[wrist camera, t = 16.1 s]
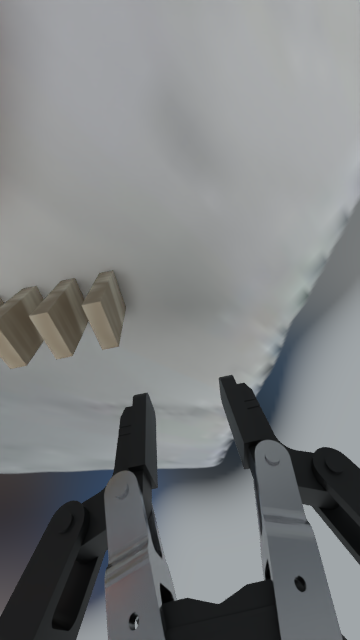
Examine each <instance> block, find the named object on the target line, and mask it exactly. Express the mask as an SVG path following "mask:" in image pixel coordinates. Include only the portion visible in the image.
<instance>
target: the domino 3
mask: <svg viewBox="0 0 360 640" xmlns="http://www.w3.org/2000/svg"><path fill="white" fill-rule="evenodd" d="M82 307H83V310H84V312H85V314H86V316H87V318H88V320H89V322H90V325H91V327H92V329H93V331H94V333H95V335H96V337H97V339H98V342H99V344H100V346H101V348H102V350H104V349H109V348H114V347H118V346H119V342H120V336H121V331H122V326H123V320H124V315H125V310H126V306H125V304H124V301H123V298H122V295H121V292H120V289H119V286H118V283H117V280H116V278H115V275H114V272H113V271H108V272H103V273H99V275H98V277H97V278H96V280H95V282H94V284H93V286H92V287H91V289H90V291H89V293H88V295H87V296H86V298H85V300H84V302H83V303H82Z"/></svg>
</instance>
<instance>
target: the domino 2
mask: <svg viewBox="0 0 360 640" xmlns="http://www.w3.org/2000/svg"><path fill="white" fill-rule="evenodd" d="M83 302H84V298H83V295H82V293H81V291H80V289H79V287H78V284H77V282H76V280H75V278H74V279H69V280H64V281H61V282H60V283H59V284H58V285H57V286H56V287H55V288H54V289H53V290H52V291H51V292H50V294H49V295H48V296H47V297H46V298H45V299H44V300H43V301H42V302H41V303H40V304H39V305H38V307H37V308H36V309H35V310H34V311H33V312H32V313H31V314H30V315H29V317H30V319H31V321H32V322H33V324H34V325H35V327H36V328H37V330H38V332H39V333H40V335H41V336H42V338H43V339H44V341H45V342H46V344H47V346H48V347H49V349H50V350H51V352H52V353H53V355H54V357H55V358H56V359H61V358H66V357H71V356H73V354H74V352H75V350H76V348H77V345H78V343H79V341H80V339H81V336H82V334H83V332H84V330H85V328H86V325H87V323H88V321H89V320H88V318H87V316H86V314H85V312H84V310H83V307H82V303H83Z"/></svg>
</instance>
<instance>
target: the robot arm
mask: <svg viewBox="0 0 360 640" xmlns="http://www.w3.org/2000/svg"><path fill="white" fill-rule="evenodd" d="M219 385H220V395H221V400H222V404H223V407H224V410H225V413H226V416H227V419H228V422H229V425H230V428H231V431H232V434H233V437H234V440H235V443H236V446H237V449H238V452H239V455H240V458H241V460H242V464H243V467H244V469H249V468H250V470H251V473H252V476H253V479H254V490H255V498H256V507H257V516H258V524H259V532H260V546H261V558H262V567H263V575H264V581H261V582H256V583H252V584H247V585H246V586H244V587H243V588H241V589H240V590H239V591H238V592H236V593H235V594H233V595H232V596H230V597H229V598H228V599H226V600H225V601H224V602H222V603H220V604H214V603H209V602H204V601H200V600H195V599H190V598H185V599H180V600H177V598H176V594H175V590H174V586H173V582H172V578H171V575H170V571H169V568H168V565H167V563H166V560H165V556H164V552H163V548H162V544H161V540H160V536H159V531H158V527H157V522H156V518H155V514H154V510H153V506H152V493H151V492H152V491H151V490H152V489H155V488H157V487H158V484H157V446H156V417H155V411H154V408H153V405H152V403H151V400H150V397H149V395H148V393H143V394H138V395H134V396H133V406H131V407H126V408H125V410H124V412H123V414H122V416H121V418H120V429H119V435H118V436H119V438H118V443H117V451H116V459H115V467H114V473H113V476H112V478H111V479H110V481H109V482H108V484H107V486H106V487H105V488H104V489H103V490H102V491H101V492H99V493H98V494H96V495H95V496H93V497H91V498H90V499H88V500H86V501H85V502H83V503H82V504H81V503H80V502H78V501H70V502H67V503H65V504H64V505H63V506H61V507H60V508H59V509H58V510H57V511H56V513H55V514H54V515H53V517H52V519H51V521H50V523H49V524H48V527H47V528H46V530H45V532H44V534H43V536H42V538H41V540H40V542H39V544H38V546H37V547H36V549H35V551H34V553H33V555H32V557H31V559H30V561H29V563H28V565H27V567H26V569H25V570H24V572H23V574H22V576H21V578H20V580H19V582H18V584H17V586H16V588H15V590H14V592H13V593H12V595H11V597H10V599H9V601H8V603H7V605H6V607H5V609H4V611H3V613H2V615H1V616H0V640H76V638H77V635H78V632H79V629H80V626H81V623H82V620H83V617H84V614H85V611H86V608H87V605H88V602H89V599H90V596H91V593H92V590H93V587H94V584H95V581H96V578H97V575H98V573H99V570H100V566H101V563H102V561H103V557H104V554H105V552H106V550H108V553H109V563H108V567H107V569H106V573H105V595H106V596H105V597H106V612H107V629H108V640H347V639H346V638H345V637H344V636H343V635H342V634H341V631H340V628H339V624H338V621H337V616H336V613H335V609H334V605H333V601H332V598H331V594H330V590H329V587H328V583H327V579H326V575H325V572H324V568H323V564H322V561H321V557H320V553H319V550H318V546H317V542H316V539H315V535H314V532H313V530H312V527H311V525H310V523H309V522H308V521H307V519H306V516H305V513H304V509H303V505H302V504H306V505H310V506H312V507H313V508H314V509H315V511H316V512H317V513H318V514H319V516H320V517H321V518H322V519H323V520H324V522H325V523H326V524H327V525H328V526H329V528H330V529H331V530H332V531H333V533H334V534H335V535H336V536H337V538H338V539H339V540H340V541H341V542H342V544H343V545H344V546H345V547H346V549H347V550H348V551H349V552H350V553H351V555H352V556H353V557H354V558H355V560H356V561H357V562H358V563H359V564H360V468H358V467H357V466H356V465H355V464H354V463H353V462H352V461H351V460H350V459H348V458H347V457H346V456H345V455H344V454H342V453H341V452H339V451H337V450H335V449H332V448H327V447H322V448H319V449H317V450H316V451H315V453H311V452H303V451H296V450H293V449H290V448H288V447H286V446H285V445H283V444H282V443H280V441H278V439H277V438H276V436H275V435H274V433H273V431H272V429H271V427H270V425H269V423H268V421H267V419H266V417H265V415H264V413H263V411H262V409H261V407H260V405H259V403H258V401H257V400H256V397H255V395H254V393H253V391H252V389H251V388H250V387H248V386H247V385H246V384H245V383H241V384H236V382H235V379H234V377H233V375H229V376H224V377H219ZM135 620H136V621H137V624H138V627H137V629H136V630H135Z"/></svg>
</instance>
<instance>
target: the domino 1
mask: <svg viewBox="0 0 360 640" xmlns="http://www.w3.org/2000/svg"><path fill="white" fill-rule="evenodd" d="M43 300H44V299H43V297H42V295H41V294H40V292H39V290H38V288H37V287H36V286H34V287H29V288H24V289H22V290H21V291H19V292H18V293H17V294H16V295H14V296H13V297H12V298H11V299H10V300H8V301H7V302H6V303H5V304H3V305H2V306H1V307H0V357H1V358H2V359H3V361H4V362H5V363H6V364H7V365H8V367H9V368H10V369H13V368H18V367H23V366H27V365H28V363H29V362H30V360H31V359H32V357H33V356H34V354H35V353H36V351H37V350H38V348H39V347H40V345H41V344H42V343H43V341H44V339H43V338H42V336H41V335H40V333H39V332H38V330H37V328H36V327H35V325H34V324H33V322H32V321H31V319H30V317H29V315H30V314H31V313H32V312H33V311H34V310H35V309H36V308H37V307H38V305H39V304H40V303H41V302H42V301H43Z"/></svg>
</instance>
